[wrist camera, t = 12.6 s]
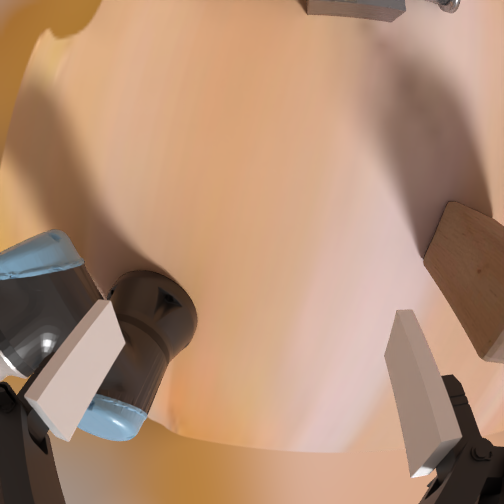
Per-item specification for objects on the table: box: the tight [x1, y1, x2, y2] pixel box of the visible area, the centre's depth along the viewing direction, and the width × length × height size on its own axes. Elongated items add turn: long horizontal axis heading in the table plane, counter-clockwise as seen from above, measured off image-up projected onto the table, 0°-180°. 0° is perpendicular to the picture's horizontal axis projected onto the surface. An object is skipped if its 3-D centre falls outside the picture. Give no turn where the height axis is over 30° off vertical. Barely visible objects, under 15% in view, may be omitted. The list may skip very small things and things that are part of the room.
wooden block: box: [423, 201, 504, 363], centre depth 28 cm, size 10×10×20 cm
